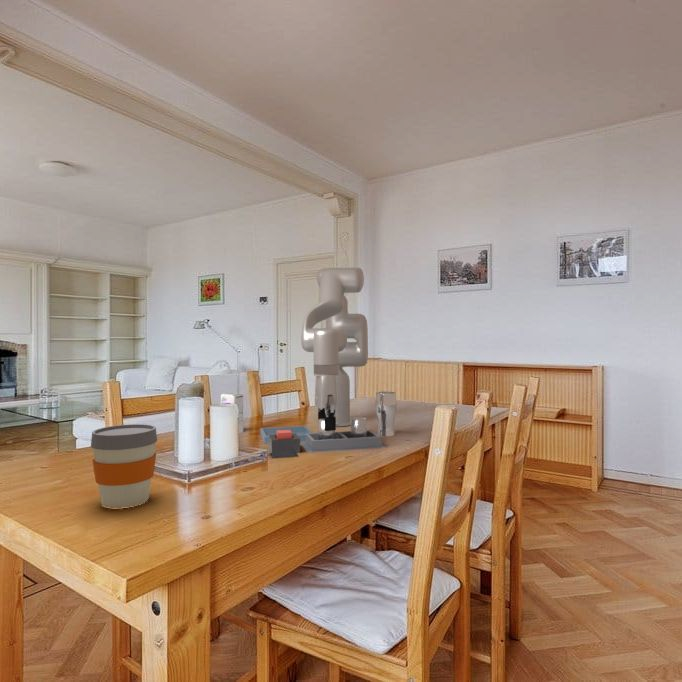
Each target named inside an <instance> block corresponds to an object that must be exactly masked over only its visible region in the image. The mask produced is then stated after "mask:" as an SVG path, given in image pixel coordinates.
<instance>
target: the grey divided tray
mask: <svg viewBox="0 0 682 682" xmlns="http://www.w3.org/2000/svg"><path fill="white" fill-rule="evenodd" d="M382 439H383V436H380V435H378V434H377V432H375V431H373V430H371V429H367V437H360V438H351V436H350V430H345V431H335V439H326V440H318V432H312V433H308V434H305V442H300V446H301V447H302V448H303V449H304V450H305V452H306V453H307V454H310V453H329V452H341V451H342V452H343V451H357V450H370V449H371V450H372V449H373V450H374V449H387V448H388V447H387V446H386V445H385V444H383V442H382V441H383V440H382Z"/></svg>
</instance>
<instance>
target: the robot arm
mask: <svg viewBox="0 0 682 682" xmlns="http://www.w3.org/2000/svg"><path fill="white" fill-rule="evenodd" d="M316 281H317V285H318V287H319V291H318V303H316V304H315V305H313V306H312V308H311V309H309V311H308V312H307V314H306V315H305V316H304V318H303V322H302V327H301V337H300V342H301V343H300V344H301V347H302V350H304V351H305V352H307V353H313V376H314V377H315V385H314V387H315V389H314V405H315V407H317V409H318V410H317V420H318V419H321V418H325V431H335V432H336V430H337V427H347V426H348V427H350V418H351V411H350V410H351V404H350V403H351V399H350V398H351V397H350V395H351V394H350V393H351V392H350V391H351V390H350V389H351V386H350V383H351V381H350V377H349V374H348V373H347V371H345V369H344V368H348V367H349V368H350V367H352V368H355V367H356V368H357V367H365V366H366V365H367V364H368V360H369V334H368V333H369V332H368V329H369V328H368V327H369V326H368V320H367V317H366V316H365V315H364V314H362V313H349V309H348V308H349V307H348V305H349V303H348V299H347V297H346V296H345V293H346V294H350V293H351V294H354V293H356V294H357V293H360V292H361V291H362V289H363V287H364V284H365V275H364V271H363V270H362V268H361V267H328V268H327V267H325V268H321V269H319V270H318V271H317V272H316ZM323 321H325V328H321V327H320V328H317V327H316V328H314V327H315V326H316V325H317V324H318V323H320V322H323ZM348 339H352V340H353V339H354V340H355V341H348Z"/></svg>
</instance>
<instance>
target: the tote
mask: <svg viewBox="0 0 682 682" xmlns="http://www.w3.org/2000/svg"><path fill="white" fill-rule="evenodd" d="M277 430H291V432H292V433H296V434H297V435H298V437H299V438H300V443H305V434H308V433H313V431H311V430H310V428H309V427H307V425H293V426H291V425H290V426H275V427H260V429H259V431H260V432H259V433H260V436H261V440H262V441H263V444H264V445H269V435H272V434H276V431H277Z"/></svg>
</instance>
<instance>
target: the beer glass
mask: <svg viewBox="0 0 682 682" xmlns="http://www.w3.org/2000/svg"><path fill="white" fill-rule="evenodd" d="M396 413H397V393H396V391H388V390H387V391H383V390H382V391H376V393H375V414H376V419H377V432H376V434H378V435H379V436H381V437H391V436H392V437H393V436H395V435H396V433H395V420H396V415H397V414H396Z"/></svg>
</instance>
